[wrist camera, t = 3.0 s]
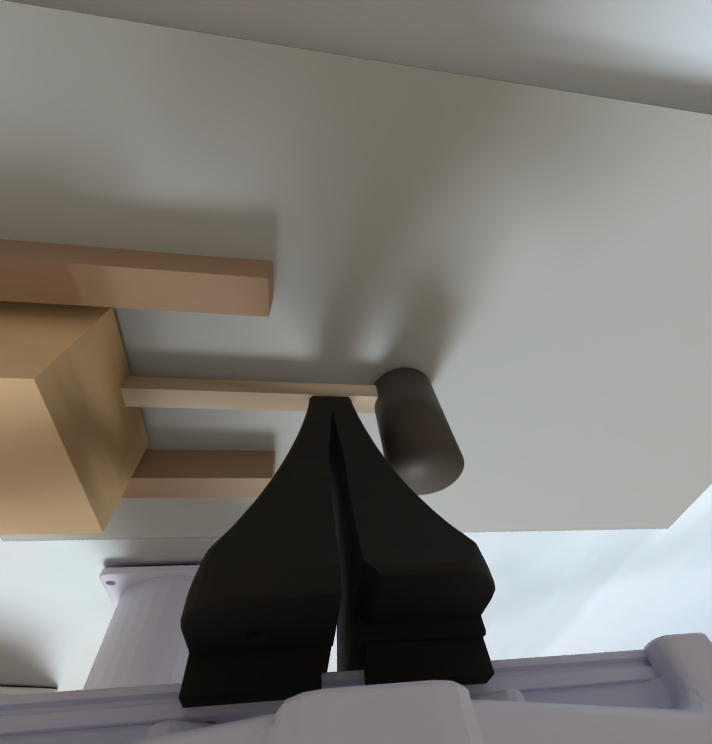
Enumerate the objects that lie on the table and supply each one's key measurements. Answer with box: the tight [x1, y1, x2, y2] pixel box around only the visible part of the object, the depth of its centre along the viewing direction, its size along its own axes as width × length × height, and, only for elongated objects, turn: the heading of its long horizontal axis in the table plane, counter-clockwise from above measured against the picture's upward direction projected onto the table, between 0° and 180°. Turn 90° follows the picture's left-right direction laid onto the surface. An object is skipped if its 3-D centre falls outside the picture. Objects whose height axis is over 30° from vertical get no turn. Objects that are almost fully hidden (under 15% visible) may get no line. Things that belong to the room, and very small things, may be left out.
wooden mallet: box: [0, 301, 464, 535], centre depth 12 cm, size 6×17×4 cm, turn 84°
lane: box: [0, 0, 712, 541], centre depth 15 cm, size 20×37×2 cm, turn 84°
